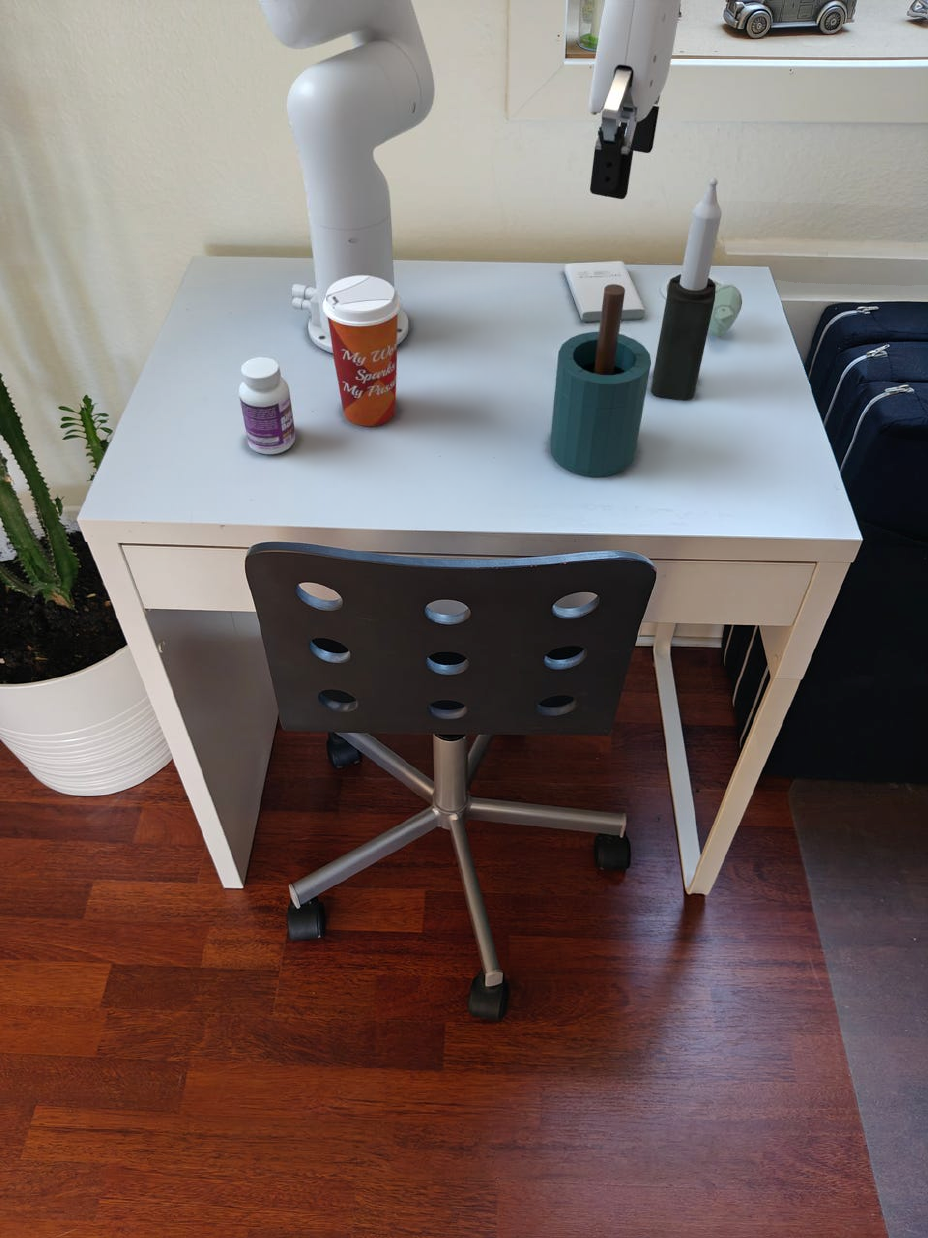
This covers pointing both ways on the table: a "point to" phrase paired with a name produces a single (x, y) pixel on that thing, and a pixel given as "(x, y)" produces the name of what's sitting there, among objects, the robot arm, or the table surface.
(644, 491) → the table surface
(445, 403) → the table surface
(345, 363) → the coffee cup
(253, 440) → the pill bottle
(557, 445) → the teal hollow cylinder
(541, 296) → the table surface
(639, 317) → the hard drive
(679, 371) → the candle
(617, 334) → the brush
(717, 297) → the green toy fish
